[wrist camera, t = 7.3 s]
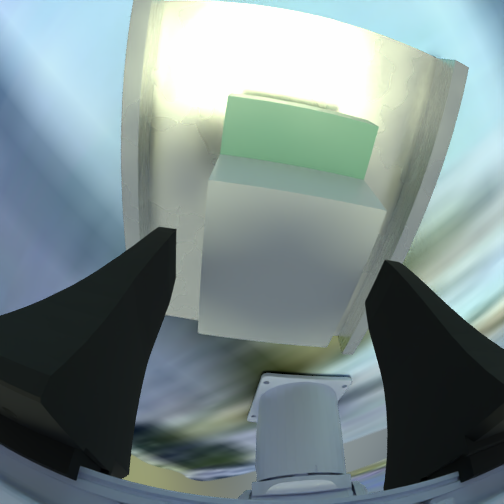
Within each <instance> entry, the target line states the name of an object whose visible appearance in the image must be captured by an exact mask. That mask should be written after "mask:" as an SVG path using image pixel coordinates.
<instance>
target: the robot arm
mask: <svg viewBox="0 0 504 504" xmlns="http://www.w3.org/2000/svg"><path fill="white" fill-rule="evenodd" d="M176 231H177V229H173V228H166V227H157V228H156V229H155V230H153V231H152V232H150V233H149V234H148V235H147V236H145V237H144V238H143V239H141V240H140V241H139V242H137V243H136V244H135V245H133V246H132V247H131V248H129V249H128V250H127V251H125V252H124V253H122V254H121V255H120V256H118V257H117V258H115V259H114V260H112V261H111V262H109V263H108V264H106V265H105V266H103V267H102V268H101V269H99V270H98V271H96V272H94V273H93V274H91V275H90V276H88V277H86V278H85V279H83V280H81V281H79V282H77V283H76V284H74V285H72V286H70V287H68V288H66V289H64V290H62V291H60V292H58V293H56V294H54V295H52V296H50V297H48V298H46V299H43V300H41V301H39V302H36V303H34V304H32V305H29V306H27V307H24V308H21V309H19V310H16V311H13V312H10V313H7V314H4V315H1V316H0V504H504V349H503V348H501V347H500V346H498V345H497V344H495V343H494V342H492V341H491V340H489V339H488V338H487V337H485V336H484V335H483V334H481V333H480V332H479V331H477V330H476V329H475V328H474V327H472V326H471V325H470V324H469V323H467V322H466V321H465V320H464V319H463V318H462V317H460V316H459V315H458V314H457V313H456V312H455V311H454V310H453V309H451V308H450V307H449V306H448V305H447V304H446V303H445V302H444V301H443V300H442V299H441V298H440V297H438V296H437V295H436V294H435V293H434V292H433V291H432V290H431V289H430V288H429V287H428V286H427V285H426V284H425V283H424V282H423V281H421V280H420V279H419V278H418V277H417V276H416V275H415V274H414V273H413V272H411V271H410V270H409V269H408V268H407V267H405V266H404V265H403V264H401V263H400V262H397V261H391V260H384V262H383V265H382V267H381V269H380V271H379V273H378V275H377V278H376V280H375V282H374V284H373V286H372V288H371V290H370V292H369V294H368V296H367V298H366V300H365V308H366V316H367V322H368V328H369V331H370V335H371V339H372V342H373V346H374V350H375V353H376V357H377V360H378V364H379V368H380V372H381V376H382V380H383V385H384V392H385V401H386V411H387V430H388V438H387V463H386V474H385V482H384V491H379V492H374V493H368V491H367V489H366V487H365V486H364V485H362V484H360V482H358V481H353V482H351V474H346V467H345V457H344V449H343V440H342V432H341V425H340V417H339V410H338V403H337V402H338V401H339V399H340V398H341V397H342V395H343V394H344V393H345V391H346V390H347V389H348V387H349V386H350V385H351V383H352V379H351V378H350V377H325V376H304V375H288V374H275V373H264V374H263V375H262V376H261V379H260V382H259V385H258V388H257V391H256V394H255V396H254V399H253V402H252V405H251V408H250V411H249V414H248V416H247V420H248V421H250V422H257V431H256V465H255V467H256V473H257V482H252V490H246V491H244V492H243V494H242V495H241V496H239V497H238V499H230V498H219V497H210V496H202V495H195V494H188V493H181V492H176V491H170V490H165V489H160V488H156V487H151V486H147V485H143V484H138V483H134V482H130V481H127V480H123V479H122V478H124V477H126V476H127V475H129V467H130V457H131V448H132V440H133V433H134V427H135V420H136V414H137V409H138V404H139V398H140V393H141V389H142V384H143V380H144V375H145V371H146V367H147V363H148V360H149V357H150V354H151V351H152V348H153V346H154V343H155V340H156V338H157V335H158V332H159V330H160V327H161V325H162V322H163V319H164V317H165V314H166V311H167V309H168V306H169V303H170V300H171V296H172V292H173V288H174V284H175V280H176Z"/></svg>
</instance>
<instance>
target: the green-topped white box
mask: <svg viewBox="0 0 504 504" xmlns="http://www.w3.org/2000/svg"><path fill="white" fill-rule="evenodd" d="M378 128H379V126H377V125H375V124H374V123H372V122H370V121H368V120H366V119H362V118H359V117H355V116H351V115H347V114H343V113H339V112H335V111H331V110H327V109H323V108H318V107H314V106H309V105H305V104H300V103H295V102H289V101H284V100H278V99H272V98H266V97H260V96H253V95H246V94H239V93H230V94H229V95H228V97H227V104H226V112H225V119H224V127H223V134H222V142H221V150H220V155H219V158H218V160H217V162H216V164H215V166H214V169H213V171H212V173H211V175H210V178H209V180H208V191H207V201H206V213H205V225H204V237H203V250H202V265H201V281H200V298H199V318H198V333H200V334H206V335H213V336H220V337H228V338H235V339H243V340H252V341H260V342H270V343H279V344H290V345H302V346H314V347H327V346H328V344H329V342H330V340H331V338H332V336H333V334H334V332H335V330H336V328H337V326H338V324H339V322H340V320H341V318H342V316H343V314H344V312H345V310H346V308H347V305H348V303H349V301H350V299H351V297H352V295H353V292H354V290H355V288H356V286H357V284H358V281H359V279H360V277H361V275H362V272H363V270H364V268H365V265H366V263H367V261H368V258H369V256H370V253H371V251H372V248H373V246H374V244H375V241H376V239H377V236H378V234H379V231H380V228H381V226H382V223H383V221H384V218H385V215H386V213H387V210H386V209H385V207H384V206H383V205H382V203H381V202H380V201H379V199H378V198H377V197H376V195H375V194H374V193H373V191H372V190H371V189H370V187H369V186H368V185H367V184H366V182H365V181H364V177H365V174H366V171H367V167H368V164H369V160H370V157H371V154H372V150H373V146H374V143H375V139H376V136H377V132H378Z"/></svg>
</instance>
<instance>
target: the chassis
mask: <svg viewBox="0 0 504 504" xmlns="http://www.w3.org/2000/svg"><path fill="white" fill-rule="evenodd" d="M468 69H469V67H467V66H465V65H463V64H462V63H460V62H458V61H456V60H449V59H437V58H435V57H433V56H431V55H429V54H427V53H425V52H423V51H420V50H418V49H416V48H413V47H411V46H409V45H406V44H404V43H401V42H399V41H396V40H394V39H391V38H388V37H386V36H383V35H380V34H377V33H375V32H372V31H369V30H366V29H363V28H359V27H356V26H353V25H350V24H346V23H343V22H339V21H335V20H332V19H328V18H324V17H320V16H315V15H311V14H306V13H302V12H297V11H292V10H286V9H280V8H274V7H268V6H260V5H252V4H243V3H233V2H219V1H193V0H175V1H165V0H133V6H132V12H131V19H130V25H129V33H128V41H127V49H126V59H125V70H124V82H123V98H122V123H121V176H122V202H123V219H124V232H125V244H126V251H127V250H128V249H129V248H131V247H132V246H133V245H135V244H136V243H137V242H139V241H140V240H141V239H143V238H144V237H145V236H147V235H148V234H149V233H150V232H152V231H153V230H155V229H156V228H157V227H166V228H173V229H177V231H176V280H175V284H174V288H173V292H172V296H171V300H170V303H169V306H168V309H167V311H166V314H165V315H169V316H175V317H181V318H188V319H194V320H198V318H199V298H200V281H201V265H202V250H203V237H204V225H205V213H206V201H207V191H208V180H209V178H210V175H211V173H212V171H213V169H214V166H215V164H216V162H217V160H218V158H219V155H220V150H221V142H222V134H223V127H224V119H225V112H226V104H227V97H228V95H229V94H230V93H239V94H246V95H253V96H260V97H266V98H272V99H278V100H284V101H289V102H295V103H300V104H305V105H309V106H314V107H318V108H323V109H327V110H331V111H335V112H339V113H343V114H347V115H351V116H355V117H359V118H362V119H366V120H368V121H370V122H372V123H374V124H375V125H377V126H379V128H378V132H377V136H376V139H375V143H374V146H373V150H372V154H371V157H370V160H369V164H368V167H367V171H366V174H365V177H364V181H365V182H366V184H367V185H368V186H369V187H370V189H371V190H372V191H373V193H374V194H375V195H376V197H377V198H378V199H379V201H380V202H381V203H382V205H383V206H384V207H385V209H386V210H387V213H386V215H385V218H384V221H383V223H382V226H381V228H380V231H379V234H378V236H377V239H376V241H375V244H374V246H373V248H372V251H371V253H370V256H369V258H368V261H367V263H366V265H365V268H364V270H363V272H362V275H361V277H360V279H359V281H358V284H357V286H356V288H355V290H354V292H353V295H352V297H351V299H350V301H349V303H348V305H347V308H346V310H345V312H344V314H343V316H342V318H341V320H340V322H339V324H338V326H337V328H336V330H335V332H334V334H333V335H335V336H338V338H339V343H340V348H341V353H342V354H353V353H354V351H355V350H356V348H357V346H358V345H359V343H360V341H361V340H362V338H363V336H364V335H365V333H366V331H367V330H368V322H367V316H366V308H365V300H366V298H367V296H368V294H369V292H370V290H371V288H372V286H373V284H374V282H375V280H376V278H377V275H378V273H379V271H380V269H381V267H382V265H383V262H384V260H391V261H397V262H400V263H401V264H402V263H403V261H404V259H405V257H406V255H407V253H408V250H409V248H410V246H411V244H412V242H413V239H414V237H415V235H416V232H417V230H418V228H419V226H420V223H421V221H422V218H423V216H424V213H425V211H426V209H427V206H428V203H429V201H430V198H431V196H432V193H433V190H434V188H435V185H436V182H437V180H438V177H439V174H440V171H441V168H442V165H443V162H444V159H445V156H446V153H447V150H448V147H449V144H450V140H451V137H452V134H453V130H454V127H455V123H456V120H457V116H458V112H459V108H460V105H461V100H462V96H463V92H464V88H465V83H466V79H467V74H468Z"/></svg>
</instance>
